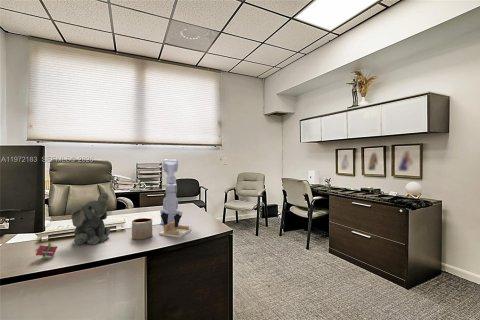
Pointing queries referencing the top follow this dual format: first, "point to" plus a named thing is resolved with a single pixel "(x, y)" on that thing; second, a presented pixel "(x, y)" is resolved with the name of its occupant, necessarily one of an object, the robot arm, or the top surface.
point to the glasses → (168, 227)
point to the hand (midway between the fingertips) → (171, 226)
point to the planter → (141, 228)
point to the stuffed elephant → (91, 221)
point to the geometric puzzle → (46, 250)
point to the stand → (181, 233)
